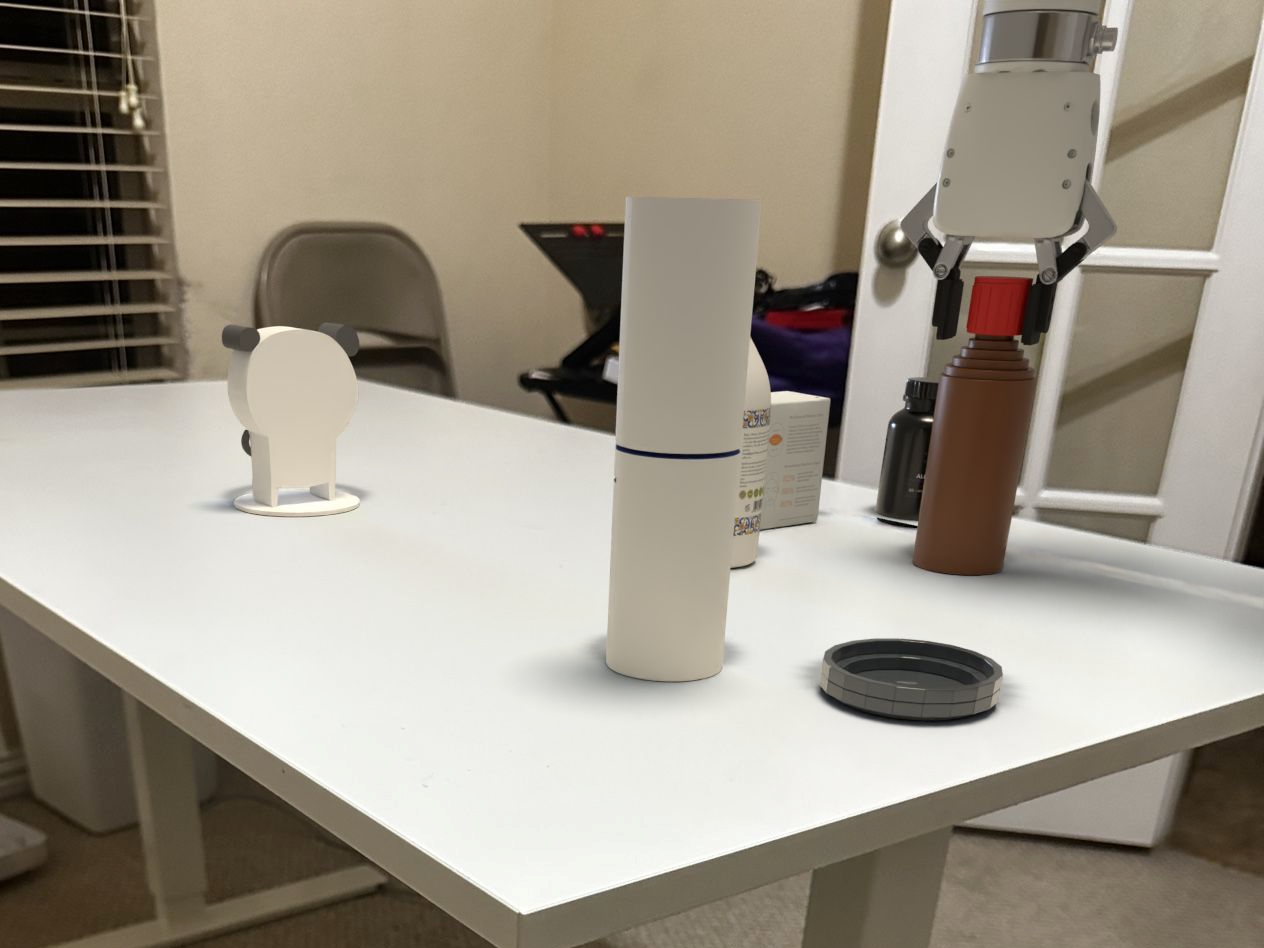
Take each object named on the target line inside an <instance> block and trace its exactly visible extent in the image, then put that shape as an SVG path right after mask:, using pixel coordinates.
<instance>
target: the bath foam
mask: <svg viewBox="0 0 1264 948" xmlns="http://www.w3.org/2000/svg"><path fill="white" fill-rule="evenodd" d="M771 391H772V390H771V384H770V379H769V375H768V372H767V369H766V366H765V364H764V362H763V359H762V357H761V355H760V354H759V351H758V348H757V347H756V344H755V342H754V341H753V339H752V336H750V345H749V357H748V369H747V381H746V393H745V405H744V417H743V429H742V441H741V447H740V448H739V450H740V464H739V476H738V487H737V499H736V510H735V522H734V533H733V545H732V557H731V568H730V569H734V568H742V567H746V566H748V565H750V564H752V563H754V561H756V559H757V557H758V550H759V540H760V539H759V538H760V531H761V530H760V522H761V511H762V500H763V489H764V478H765V467H766V457H767V446H768V435H769V424H770V413H771Z"/></svg>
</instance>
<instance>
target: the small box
mask: <svg viewBox="0 0 1264 948" xmlns="http://www.w3.org/2000/svg"><path fill="white" fill-rule="evenodd" d="M830 408H831V398H830V397H824V396H819V395H813V394H806V393H801V392H796V391H789V390H781V391H772V392H771V413H770V424H769V435H768V446H767V457H766V467H765V478H764V489H763V500H762V511H761V522H760V530H759V531H761V530H769V529H773V528H775V529H776V528H782V527H789V526H795V525H802V524H808V523H815V522H817V521H818V519H819V508H820V499H821V490H822V482H823V481H822V480H823V473H824V465H825V464H824V462H825V453H826V445H827V435H828V425H829V417H830Z"/></svg>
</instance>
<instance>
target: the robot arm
mask: <svg viewBox="0 0 1264 948" xmlns="http://www.w3.org/2000/svg"><path fill="white" fill-rule="evenodd" d="M1101 3H1102V0H984V2H983V6H982V7H983V8H982V15H981V17H982V18H981V21H980V28H979V36H978V40H977V41H978V43H977V49H976V56H975V63H974V65H975V66H974V70H973V73H966V74H964V77H963V79H962V82H961V85H960V88H959V91H958V94H957V97H956V100H955V105H954V108H953V111H952V116H951V118H950V123H949V126H948V131H947V135H946V138H945V143H944V147H943V152H942V156H941V162H940V166H939V172H938V177H937V181H936V183H934V185H933V186H932V187H931V188H930V189H929V190H928V191H927V192H926V194H924V196H923V197H922V198H921V199H919V201H918V202H917V203H916V204H915V205H914V207H912V208H911V210H910V211H908V212H907V214H906V215H905V216H904V218H902V219H901V221H900V227H899V228H900V230H901V232H902V233H903V234H904V235H905V236H906V237H907V238H908V240H909V241H910V242H911V244H912V245H913V246H914V247H915V248H916V249H917V251H918V253H919V254H920V256H921V257H922V259H923V260H924V262H925V263H926V265H927V266H928V267H929V269H930V270H931V271H932V275H933V277H934V279H936V280H937V282H936V289H935V296H934V303H933V310H932V318H931V326H932V327H933V328H934V327H935V328H936V334H935V339H936V340H938V341H945V340H949V339H953V338H954V337H956V336H957V333H958V326H959V319H960V313H961V306H962V300H963V295H964V294H963V293H964V286H965V281H963V278H961V274H962V270H961V268H962V266H963V263H964V261H965V259H966V257H967V255H968V253H969V250H970V249H971V246H972V245H973V243H974V239H975V238H976V237H982V238H984V237H985V238H1012V239H1013V238H1019V239H1033V242H1034V249H1035V255H1036V261H1037V269H1038V273H1037V274H1036V277H1035V278H1036V279H1035V283H1032V286H1031V287H1030V290H1029V296H1028V302H1027V308H1026V314H1025V319H1024V325H1023V331H1022V335H1021V338H1020V343H1021V344H1022V345H1023V346H1034V345H1037V344H1039V342H1040V339H1041V336H1042V334H1047V333H1048V332H1049V330H1050V326H1051V322H1052V315H1053V310H1054V305H1055V299H1056V294H1057V288H1058V283H1061V282H1062V281H1063V279H1064V278H1065V277H1066V276H1068V275H1069V274H1070V273H1071V272H1072V271H1073V270H1074V269H1075V268H1077V267H1078V266H1079V265H1080V264H1081V263H1082V262H1083V261H1085V260H1086V259H1087V257H1089V256H1090V255H1091V254H1093V253H1094V252H1095V251H1096V250H1098V249H1099V248H1100V247H1101V246H1103V245H1104V244H1105V243H1107V242H1108V241H1109V240H1110V239H1112V238H1113V237H1114V236H1115V235H1116V234H1117V232H1118V225H1117V223H1116V222H1115V220H1114V219H1113V217H1112V215H1111V214H1110V212H1109V210H1108V208H1106V206H1105V204H1104V202H1103V201H1102V199H1101V197H1100V196H1099V194H1098V193H1097V191H1096V190H1095V188H1094V187H1093V185H1092V184H1093V183H1092V182H1093V175H1094V168H1095V161H1096V152H1097V144H1098V135H1099V134H1098V133H1099V123H1100V112H1101V111H1100V110H1101V74H1099V73H1096V72H1091V71H1089V70H1090V65H1091V66H1092V65H1093V62H1094V59H1096V58H1097V56H1098V55H1102V54H1103V52H1104V53H1106V52H1108V53H1109V52H1114V51H1115V49H1116V46H1117V43H1118V34H1119V28H1118V27H1108V26H1107V25H1103V24H1102V22H1101V19H1100V18H1099V17H1098V16H1099V14H1100V10H1101ZM931 218H932V223H933V226H934V227H935V229H936V230H938V231H940V232H941V233H943V234H946V235H947V238H946V240H945V242H944V244H942V243H941V241H940V240H939V239H938V238H937V237H935V235H934V234H933V232H932V230H930V228H929V221H930V219H931ZM1085 221H1086V222H1087V223H1088V230H1087V231H1086V232H1085V233H1084V234H1083V235H1082V236H1081V237H1080V238H1079V239H1078V240H1076V241H1075V242H1073V243H1072V244H1071V245H1069V246H1068V247H1067V248H1066V249H1064V250H1063V248H1062V240H1061V238H1065V237H1069V236H1072V235H1074V234H1076V233H1079V231H1080V230H1081V229H1082V228H1083V226H1084V224H1085Z"/></svg>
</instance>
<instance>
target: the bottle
mask: <svg viewBox="0 0 1264 948" xmlns="http://www.w3.org/2000/svg"><path fill="white" fill-rule="evenodd" d="M967 342H968V343H967V345H962V346H961V347H960V350H959V354H954V355H953V356H952V360H951V362H949V363H946V364H944V367H943V371H942V372H940V374H939V377H938V378H939V384H938V391H937V398H936V405H935V412H934V418H933V425H932V432H931V439H930V445H929V452H928V459H927V466H926V472H925V479H924V486H923V493H922V500H921V506H920V513H919V520H918V521H917V526H918V527H917V529H916V533H915V541H914V548H913V554H912V564H914V566H916V567H918V568H921V569H923V570H927V571H930V572H935V573H940V574H941V573H942V574H947V575H956V576H957V575H958V576H983V575H984V576H985V575H986V576H987V575H992V574H996V573H999V572H1001V571H1002V570H1003V569H1004V564H1005V559H1006V553H1007V546H1008V541H1009V536H1010V530H1011V523H1012V519H1013V512H1014V507H1015V502H1016V497H1017V491H1018V485H1019V481H1020V480H1019V479H1020V473H1021V469H1022V465H1023V464H1022V463H1023V458H1024V452H1025V446H1026V441H1027V435H1028V430H1029V424H1030V418H1031V413H1032V408H1033V403H1034V396H1035V390H1036V386H1037V385H1036V384H1037V378H1036V377H1035V372H1036V369H1035V368H1034V367H1032V366H1030V359H1029V358H1027V357H1025V356H1024V355H1025V349H1024V348H1019V344H1020V340H1019V339H1017V338H1015V336H999V335H981V334H974V337H969V338H968V341H967Z"/></svg>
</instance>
